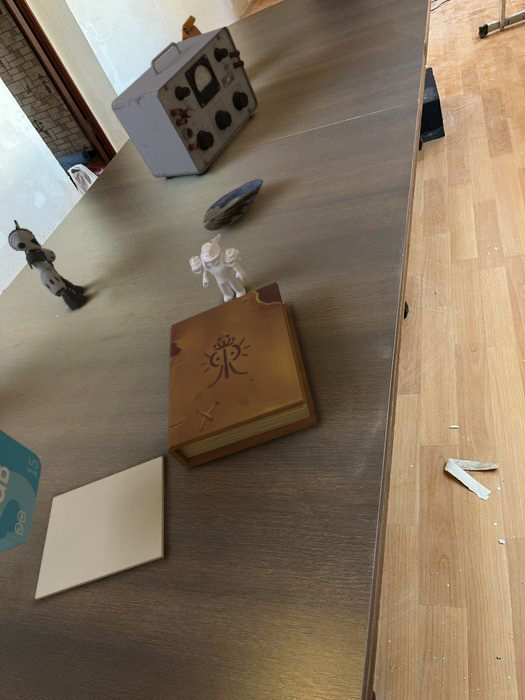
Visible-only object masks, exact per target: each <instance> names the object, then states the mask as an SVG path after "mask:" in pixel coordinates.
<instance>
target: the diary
mask: <svg viewBox="0 0 525 700" xmlns="http://www.w3.org/2000/svg"><path fill="white" fill-rule="evenodd" d="M168 367H169V369H168V373H169V374H168V375H169V376H168V416H167V417H168V419H167V420H168V421H167V422H168V423H167V432H168V433H167V454H168V455H170V457H172V458H173V459H174V460H175V461H176V462H177V463H179V465H181V466H182V467H185V468H194V467H197V466H199V465H202V464H205V463H209V462H211V461H214V460H217V459H220V458H222V457H226V456H228V455H233V454H234V453H237V452H240V451H243V450H246V449H249V448H252V447H254V446H257V445H260V444H263V443H266V442H269V441H272V440H274V439H278V438H281V437H283V436H286V435H289V434H292V433H295V432H298V431H301V430H304V429H307V428H310V427H312V426H315V425H317V424H319V423H318V419H317V415H316V409H315V406H314V402H313V398H312V393H311V390H310V386H309V385H310V384H309V381H308V378H307V373H306V369H305V366H304V362H303V357H302V353H301V350H300V346H299V341H298V338H297V333H296V329H295V324H294V321H293V316H292V311H291V309H290V305H289V304H288V302H286V303H283V299H282V295H281V290H280V287H279V284H278V282H277V281H274V282H271V283H269V284H266V285H264V286H262V287H259V288H257V289H255V290H252V291H250V292H248V293H247V292H246V294H245V295H243V296H240V297H238V298H237V297H236V298H233V299H232V300H230V301H228V302H223V303H221V304H219V305H216V306H213V307H211V308H209V309H206V310H204V311H202V312H200V313H197V314H194V315H192V316H190V317H187V318H184V319H182V320H180V321H177V322H175V323H173V324H171V327H170V329H169V366H168Z"/></svg>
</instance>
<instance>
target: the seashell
mask: <svg viewBox="0 0 525 700" xmlns="http://www.w3.org/2000/svg"><path fill="white" fill-rule="evenodd" d="M263 183H264V180H263V179H262V178H255V179H253V180H250V181H248V182H245V183H243V184H241V185H240V186H238V187H236V188H234V189H232V190H231V191H229V192H227V193H225V194H224V195H222V196H221V197H220V198H219V199H217V200H216V201H215V202H214V203H213V204H211V205H210V206H209V207H208V209H207V210H206V212H205V214H204V216H203V218H202V222H201V223H202V227H203V228H204V229H205V230H207V231H211V232H213V231H220V230H222V229H226V228H228V227H229V226H231V225H232V224H234V223H235V222H236V221H237V220H239V219H240V218H241V217H242V216H244V215H245V213H246V212H247V210H248V209H249V208H250V207H251V205H252V204H253V202H254V200H255V199H256V197H257V196H258V194H259V193H260V190H261V188H262V186H263Z"/></svg>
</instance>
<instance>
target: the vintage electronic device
mask: <svg viewBox="0 0 525 700" xmlns="http://www.w3.org/2000/svg"><path fill="white" fill-rule="evenodd" d="M244 66H245V61H244V60H242V58H241V52H240V50H239V49H237V47H236V44H235V42H234V39H233V36H232V34H231V31H230V29H229V28H228V27H227V26H222V27H219V28H215V29H213V30H209V31H207V32H203V33H202V34H201V35H198V36H195V37H192V38H189V39H186V40H183V41H182V40H180V41H177V42H174V41H172V42H170V43H169V44H168V45H167V46H166V47H164V48H163V49H162V50H161V51H160V52H159V53H158V54H157V55H156V56H155V57H154V58H152V59H151V61H150V66H149V68H147V70H145V71H144V72H143V73H142V74H141V75H140V76H139V77H137V78H136V80H134V81H133V82H132V83H131V84H130V85H129V86H128V87H127V88H126V89H125V90H124V91H122V92H121V93H119V95H118V96H117V97H116V98H115V99H114V100H113V101H111V104H110V105H111V109H112V112H113V113H114V115H115V117H116V118H117V120H118V121H119V123H120V125H121V126H122V128H123V129H124V132H125V133H126V134H127V136H128V138H129V139H130V141H131V143H132V144H133V145H134V147H135V149H136V151H137V152H138V154H139V155H140V157H141V158H142V160H143V161H144V163H145V165H146V166H147V169H148V170H149V171H150V173H151V175H152V176H153V177H154V178H156V179H160V178H161V179H162V178H166V179H167V180H170V179H172V178H173V177H179V176H188V175H198V176H201V177H202V176H204V175H205V174H206V173H207V169H208V167H209V166H211V164H212V163H213V162H214V161H215V159H216V158H217V157H218V156H219V154H220V153H221V152H222V151H223V150H224V148H225V147H226V146H227V145H228V144H229V143H230V141H231V140H232V139H233V138H234V136H235V135H236V134H237V133H238V132H239V130H241V128H242V127H243V126H244V124H246V122H247V121H249V120H251V119H252V118H253V116H254V115H253V114H254V113H255V112H256V110H257V109H258V107H259V101H258V98H257V96H256V93H255V91H254V87H253V86H252V83H251V81H250V78H249V75H248V74H247V71H246V68H245V67H244Z"/></svg>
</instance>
